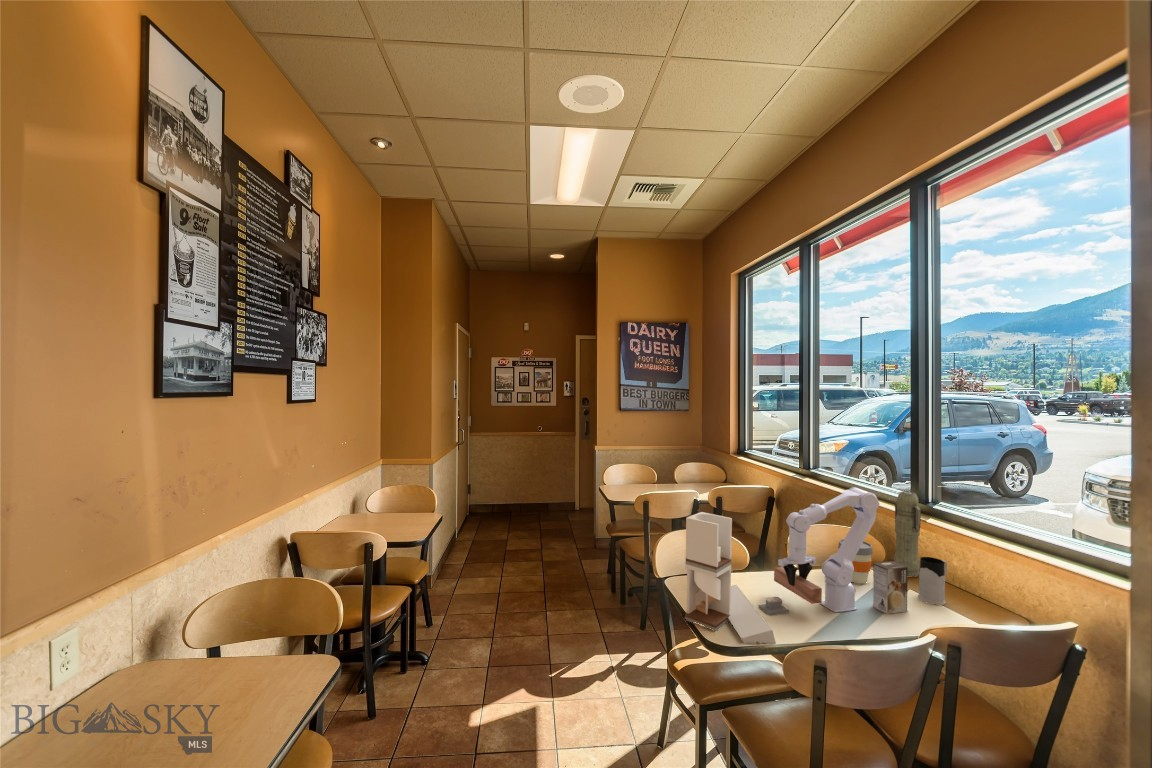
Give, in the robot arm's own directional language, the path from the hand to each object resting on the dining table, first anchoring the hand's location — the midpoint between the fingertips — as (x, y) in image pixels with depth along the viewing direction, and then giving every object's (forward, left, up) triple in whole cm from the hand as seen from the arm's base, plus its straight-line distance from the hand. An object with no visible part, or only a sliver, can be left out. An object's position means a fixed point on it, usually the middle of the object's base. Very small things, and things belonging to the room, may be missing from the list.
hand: (796, 584), depth 179 cm
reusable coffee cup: (-42, -16, -9) cm, 45 cm away
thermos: (-69, -16, -9) cm, 71 cm away
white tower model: (+36, +1, -9) cm, 38 cm away
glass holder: (-58, +6, -9) cm, 58 cm away
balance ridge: (+9, 0, -8) cm, 13 cm away
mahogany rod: (0, 0, -3) cm, 3 cm away
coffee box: (-33, +9, -9) cm, 35 cm away
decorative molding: (+24, +2, -9) cm, 26 cm away
